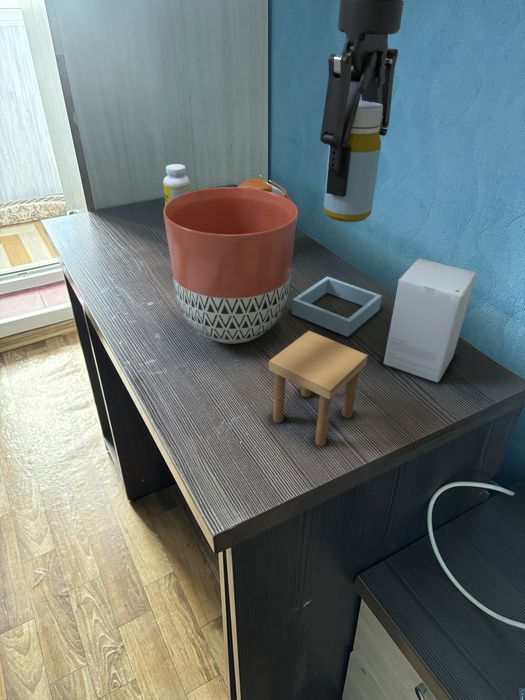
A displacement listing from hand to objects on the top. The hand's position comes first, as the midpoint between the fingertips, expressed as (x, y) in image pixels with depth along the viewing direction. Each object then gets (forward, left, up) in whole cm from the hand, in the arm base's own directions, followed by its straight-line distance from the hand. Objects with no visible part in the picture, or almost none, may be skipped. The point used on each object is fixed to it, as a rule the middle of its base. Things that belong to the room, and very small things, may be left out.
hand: (350, 187), depth 74 cm
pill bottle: (+59, -22, -25) cm, 67 cm away
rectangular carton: (-15, -1, -25) cm, 29 cm away
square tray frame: (+3, -6, -25) cm, 25 cm away
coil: (+31, -18, -25) cm, 43 cm away
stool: (-9, +20, -25) cm, 33 cm away
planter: (+13, +11, -25) cm, 30 cm away
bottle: (0, 0, -4) cm, 4 cm away
